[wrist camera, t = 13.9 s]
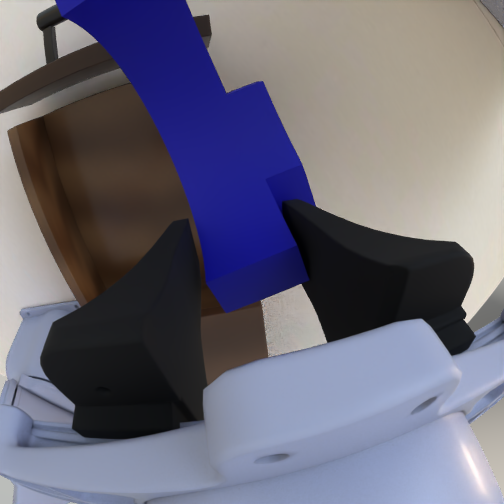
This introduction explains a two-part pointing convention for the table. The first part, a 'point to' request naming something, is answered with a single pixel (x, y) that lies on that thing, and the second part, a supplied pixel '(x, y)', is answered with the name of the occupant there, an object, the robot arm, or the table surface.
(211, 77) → the blue stepped block
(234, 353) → the cabinet
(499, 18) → the game console
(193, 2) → the table surface
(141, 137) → the drawer
